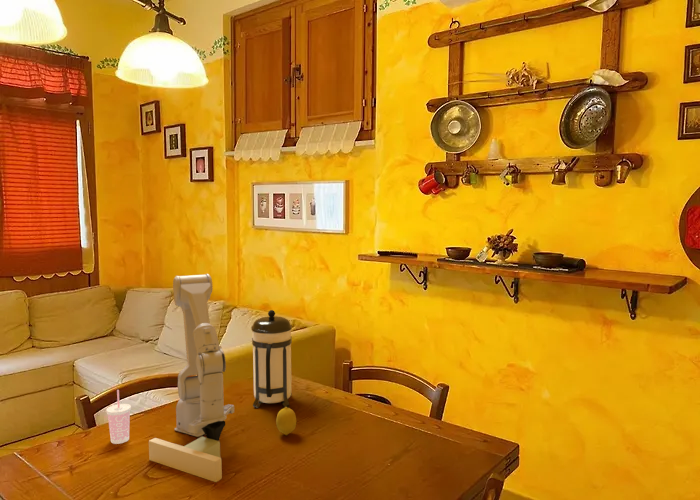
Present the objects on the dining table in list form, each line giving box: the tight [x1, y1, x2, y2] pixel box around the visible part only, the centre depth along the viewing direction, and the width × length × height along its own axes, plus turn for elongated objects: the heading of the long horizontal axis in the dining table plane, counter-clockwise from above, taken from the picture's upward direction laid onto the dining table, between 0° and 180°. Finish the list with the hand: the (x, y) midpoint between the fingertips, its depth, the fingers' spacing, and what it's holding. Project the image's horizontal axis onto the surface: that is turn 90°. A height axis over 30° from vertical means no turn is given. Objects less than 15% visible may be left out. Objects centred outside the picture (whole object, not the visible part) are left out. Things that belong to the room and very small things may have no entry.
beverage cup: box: [106, 389, 132, 445], centre depth 144 cm, size 6×6×14 cm
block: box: [184, 436, 221, 458], centre depth 132 cm, size 6×7×4 cm
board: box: [148, 437, 223, 483], centre depth 129 cm, size 22×2×5 cm, turn 62°
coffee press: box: [251, 309, 293, 409], centre depth 169 cm, size 17×16×30 cm
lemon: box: [275, 407, 297, 436], centre depth 147 cm, size 6×6×8 cm
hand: (213, 449), depth 136 cm, fingers closed
